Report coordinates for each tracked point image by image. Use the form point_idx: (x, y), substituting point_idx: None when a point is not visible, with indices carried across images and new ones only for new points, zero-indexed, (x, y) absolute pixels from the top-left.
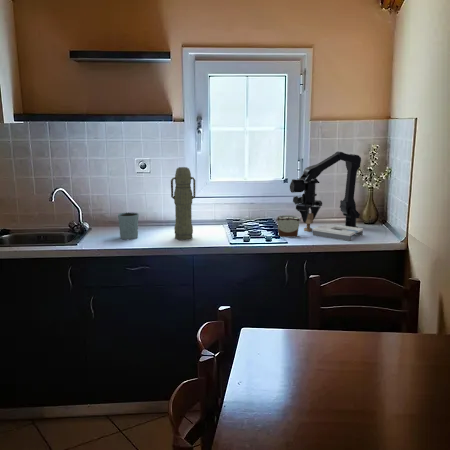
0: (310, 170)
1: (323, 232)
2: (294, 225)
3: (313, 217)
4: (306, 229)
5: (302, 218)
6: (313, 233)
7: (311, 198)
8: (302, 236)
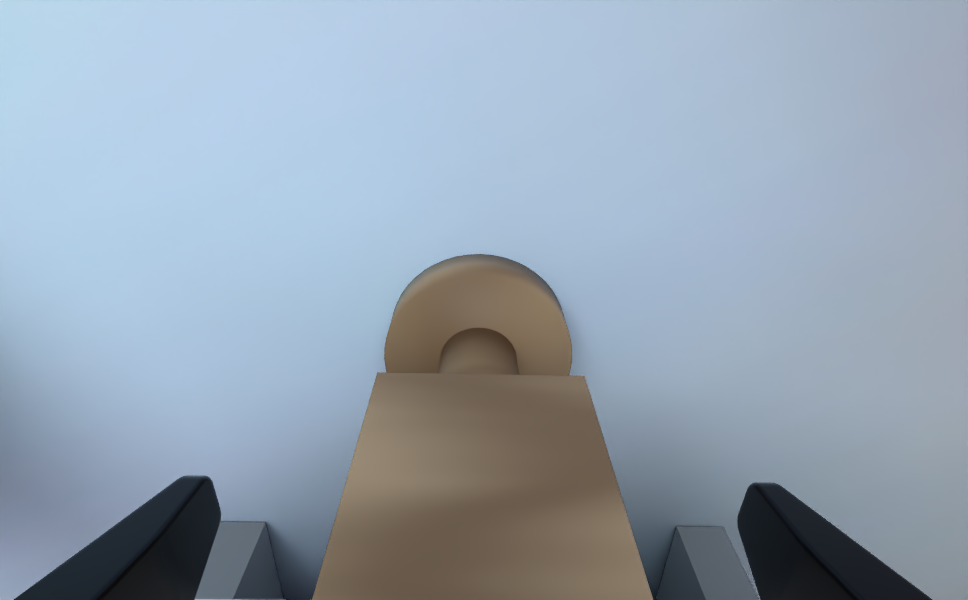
0: None
1: None
2: None
3: (770, 592)
4: (386, 361)
5: (40, 588)
6: None
7: None
8: (3, 445)
